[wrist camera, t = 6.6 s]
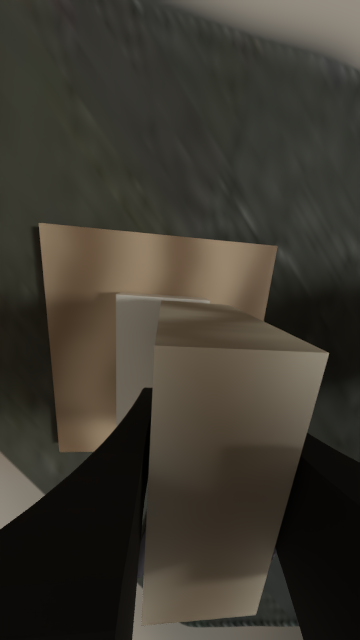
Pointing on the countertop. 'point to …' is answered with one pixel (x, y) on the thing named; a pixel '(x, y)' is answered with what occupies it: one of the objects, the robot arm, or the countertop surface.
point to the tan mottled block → (221, 457)
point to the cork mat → (100, 306)
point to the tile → (137, 344)
